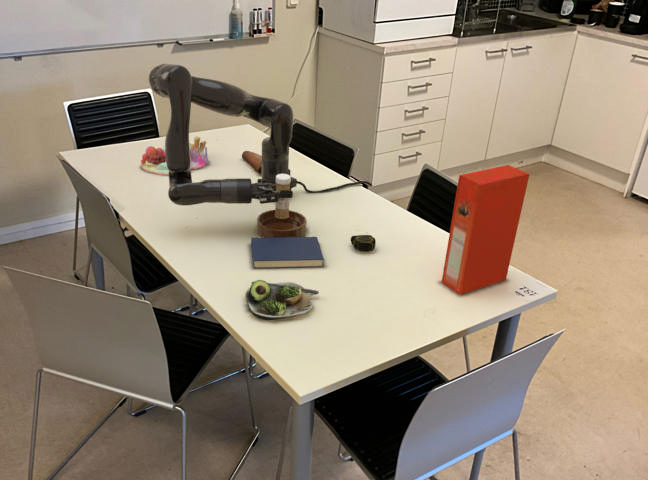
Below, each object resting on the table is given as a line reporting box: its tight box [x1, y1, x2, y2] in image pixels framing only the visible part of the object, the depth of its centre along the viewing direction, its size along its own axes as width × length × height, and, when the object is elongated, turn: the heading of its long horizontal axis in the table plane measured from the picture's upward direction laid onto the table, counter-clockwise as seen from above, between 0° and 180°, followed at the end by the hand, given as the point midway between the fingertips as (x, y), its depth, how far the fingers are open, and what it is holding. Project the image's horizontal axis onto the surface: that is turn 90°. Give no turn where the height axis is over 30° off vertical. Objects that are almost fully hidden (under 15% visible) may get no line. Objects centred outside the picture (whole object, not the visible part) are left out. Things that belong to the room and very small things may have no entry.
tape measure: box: [350, 234, 377, 253], centre depth 201 cm, size 7×7×4 cm
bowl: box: [256, 209, 308, 238], centre depth 209 cm, size 15×15×4 cm
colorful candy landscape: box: [140, 136, 209, 176], centre depth 254 cm, size 25×24×9 cm
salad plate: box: [245, 279, 320, 321], centre depth 174 cm, size 19×18×5 cm
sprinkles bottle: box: [274, 174, 292, 219], centre depth 204 cm, size 5×5×14 cm
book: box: [250, 236, 324, 269], centre depth 196 cm, size 14×20×3 cm
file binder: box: [441, 164, 530, 295], centre depth 180 cm, size 8×17×32 cm, turn 121°
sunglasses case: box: [241, 150, 262, 176], centre depth 256 cm, size 18×7×7 cm
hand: (291, 190), depth 204 cm, fingers closed on sprinkles bottle, 4 cm apart
